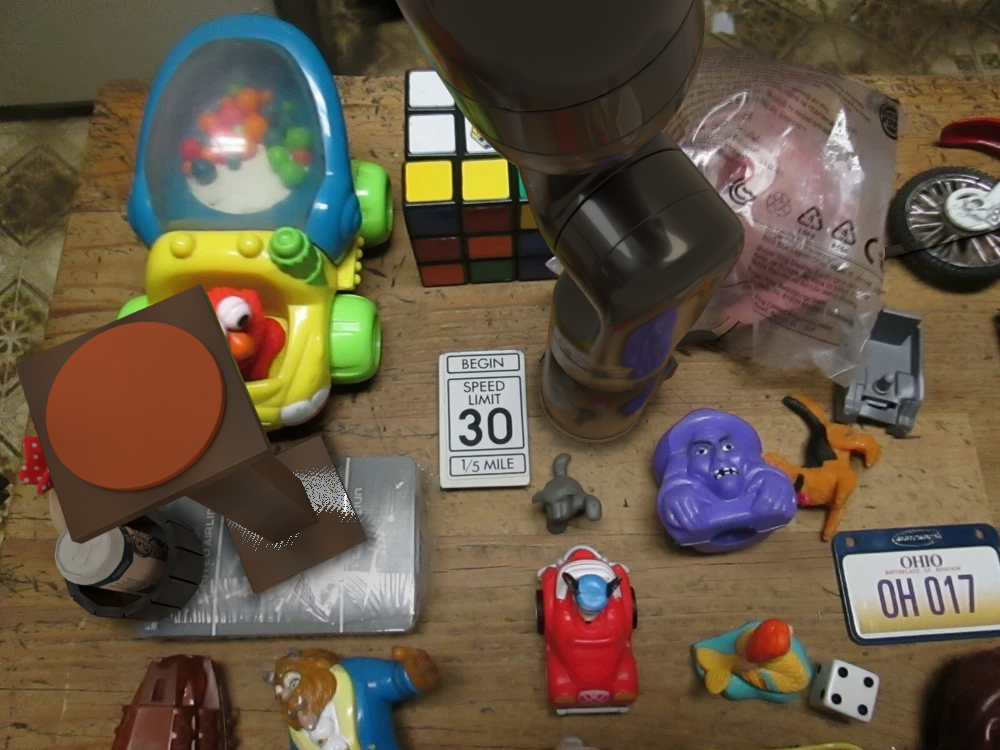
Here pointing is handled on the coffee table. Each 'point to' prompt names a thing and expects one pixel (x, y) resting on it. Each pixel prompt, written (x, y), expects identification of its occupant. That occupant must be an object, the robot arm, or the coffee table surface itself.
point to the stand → (209, 464)
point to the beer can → (114, 560)
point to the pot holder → (135, 406)
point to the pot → (169, 590)
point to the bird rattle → (41, 479)
